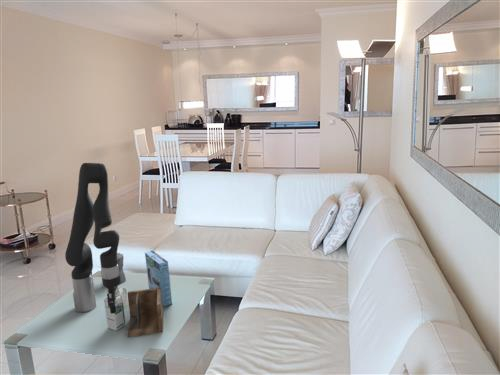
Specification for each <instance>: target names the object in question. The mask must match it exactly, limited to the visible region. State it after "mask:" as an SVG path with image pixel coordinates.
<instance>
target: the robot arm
mask: <svg viewBox="0 0 500 375" xmlns="http://www.w3.org/2000/svg"><path fill="white" fill-rule="evenodd" d="M108 175H109V174H108V169H107V166H106V164H104V163H99V162H98V163H97V162H84V163H82V164H81V166H80V168H79V174H78V183H77V184H78V185H77V194H76V195H77V196H76V201H75V206H74V212H73V217H72V218H73V219H72V224H71V230H70V235H69V240H68V243H67V246H66V249H65V250H66V251H65V253H64V255H65V261H66V263H67V264H68V265H69V266H71V267H73V269H72V271H71V274H70V275H71V280H72V288H73V293H72V296H73V303H74V309H75V310H74V311H75V312H77V313H78V312H79V313H87V312H90V311H93V310H94V309H95V308H96V307H97V299H96V293H95V287H94V285H95V284H94V279H93V277H94V276H93V270H94V263H93V262H94V260H93V252H92V248H91V246H90V245H89V244H88V243H86V242H85V241H86V238H88V235H89V233H90V231H91V230H92V227H93V226H94V233H93V240H92V241H93V245H94V246H93V247H95V248H96V249H98V250H100V249H101V250H102V249H105V248H106V249H107V248H109V249H107V250H105V251H104V252H102V253H100V255H99V260H100V274H101V284H102V287H103V288H105V289H107V290H106V293H107V294H106V298H108V307H110V312H111V314H112V313H116V307H115V300H116V294H118V295H119V288H118V286H119V285H121V284H120V273H119V267H118V261H117V253H118V248H119V242H120V234H119V232H118V231H117V230H116V229H115V230H114V229H113V230H112V229H111V230H106V231H105V230H104V231H102V229H105V228H108V227H110V226H111V225H112V221H113V220H112V215H111V209H110V203H109V177H108ZM89 184H98V186H99V191H98V194H97V196H96V198H95V200H94V201H93V200H92V198H91V196H90V194H89ZM111 302H113V303H111Z"/></svg>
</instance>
